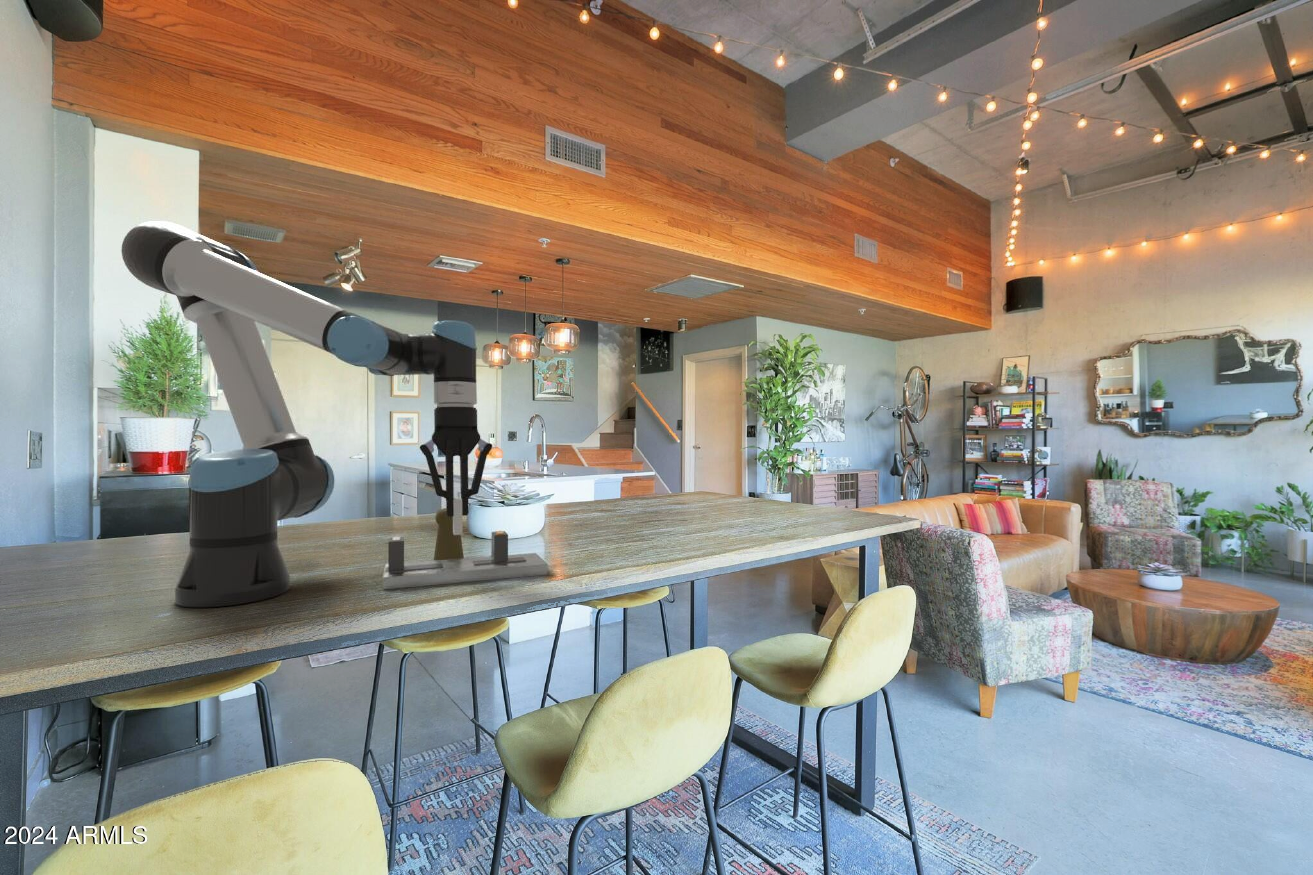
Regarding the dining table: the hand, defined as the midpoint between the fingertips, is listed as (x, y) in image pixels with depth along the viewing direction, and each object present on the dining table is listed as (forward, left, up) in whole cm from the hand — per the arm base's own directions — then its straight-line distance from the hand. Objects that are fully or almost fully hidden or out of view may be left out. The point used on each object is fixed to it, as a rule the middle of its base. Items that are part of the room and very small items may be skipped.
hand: (457, 533), depth 109 cm
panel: (+2, 0, -8) cm, 8 cm away
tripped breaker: (+8, 0, -5) cm, 9 cm away
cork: (-1, +14, -8) cm, 16 cm away
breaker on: (-10, 0, -5) cm, 12 cm away
